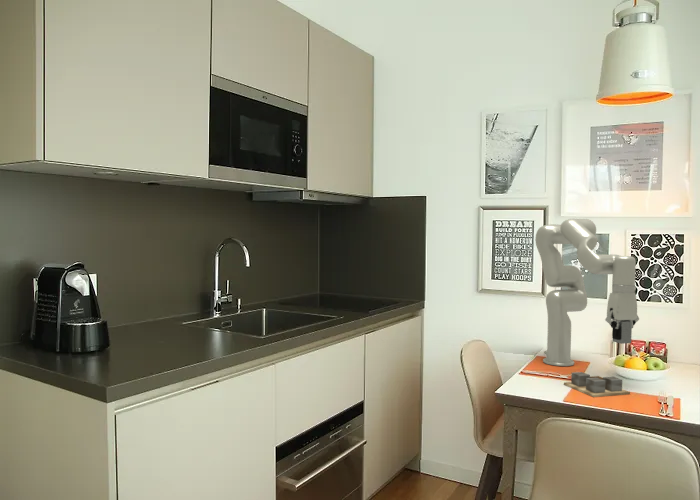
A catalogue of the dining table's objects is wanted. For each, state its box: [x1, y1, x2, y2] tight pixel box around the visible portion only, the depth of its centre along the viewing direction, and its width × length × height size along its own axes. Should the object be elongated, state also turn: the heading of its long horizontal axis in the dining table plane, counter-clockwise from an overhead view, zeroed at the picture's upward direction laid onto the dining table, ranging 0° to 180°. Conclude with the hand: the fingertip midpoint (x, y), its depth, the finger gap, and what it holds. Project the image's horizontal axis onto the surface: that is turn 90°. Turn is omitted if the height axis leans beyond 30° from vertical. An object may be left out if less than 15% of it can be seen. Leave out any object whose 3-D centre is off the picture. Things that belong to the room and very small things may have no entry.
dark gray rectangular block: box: [612, 321, 633, 345], centre depth 209 cm, size 4×4×8 cm
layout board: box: [563, 371, 631, 398], centre depth 203 cm, size 16×15×5 cm
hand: (621, 338), depth 209 cm, fingers closed on dark gray rectangular block, 4 cm apart
